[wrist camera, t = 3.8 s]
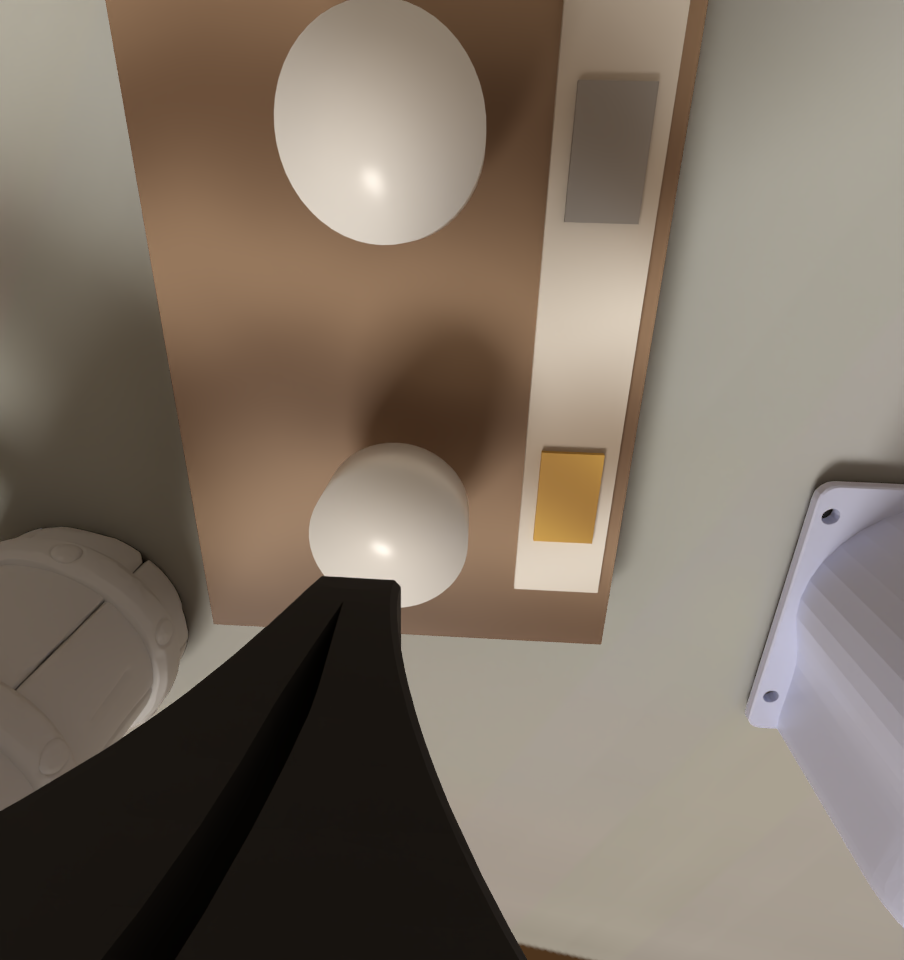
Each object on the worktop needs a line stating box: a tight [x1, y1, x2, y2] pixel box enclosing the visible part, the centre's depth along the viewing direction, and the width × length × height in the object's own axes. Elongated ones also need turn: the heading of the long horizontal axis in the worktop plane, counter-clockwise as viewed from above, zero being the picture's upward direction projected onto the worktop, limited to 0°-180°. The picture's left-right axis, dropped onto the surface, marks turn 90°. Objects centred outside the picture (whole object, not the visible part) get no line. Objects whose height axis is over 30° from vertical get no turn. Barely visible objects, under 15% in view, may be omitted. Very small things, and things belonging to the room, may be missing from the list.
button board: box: [105, 0, 708, 644], centre depth 13 cm, size 26×12×2 cm, turn 178°
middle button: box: [274, 0, 486, 245], centre depth 10 cm, size 4×4×2 cm
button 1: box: [309, 443, 469, 608], centre depth 14 cm, size 4×4×2 cm
